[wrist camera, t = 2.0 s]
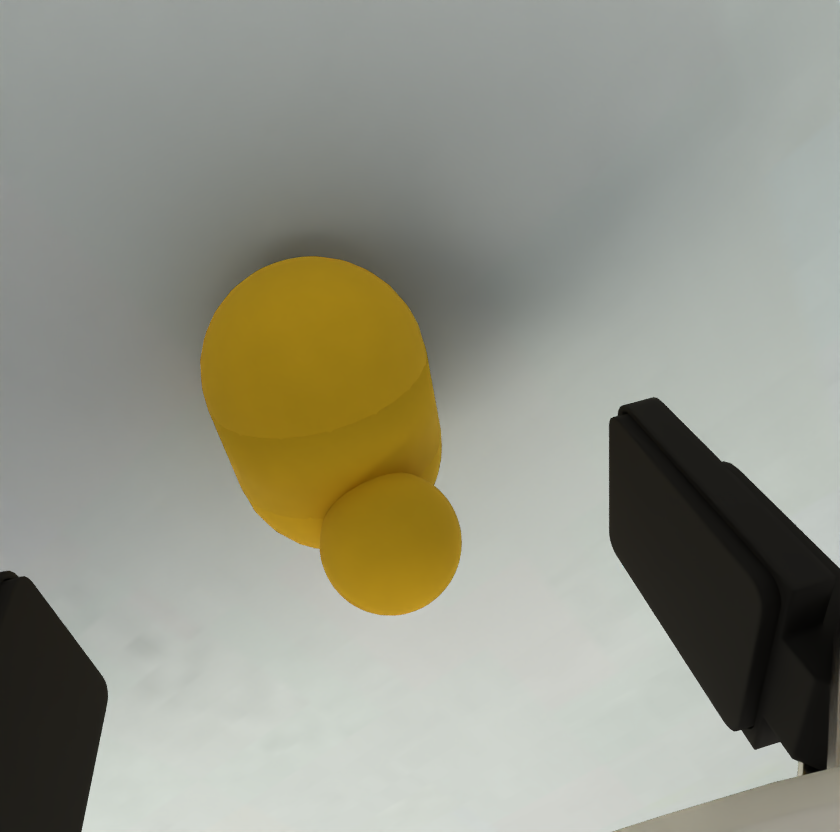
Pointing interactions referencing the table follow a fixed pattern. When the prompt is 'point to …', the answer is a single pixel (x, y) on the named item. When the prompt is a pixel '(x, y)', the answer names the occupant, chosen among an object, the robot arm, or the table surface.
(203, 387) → the duck
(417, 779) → the table surface
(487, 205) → the table surface
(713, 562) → the robot arm
